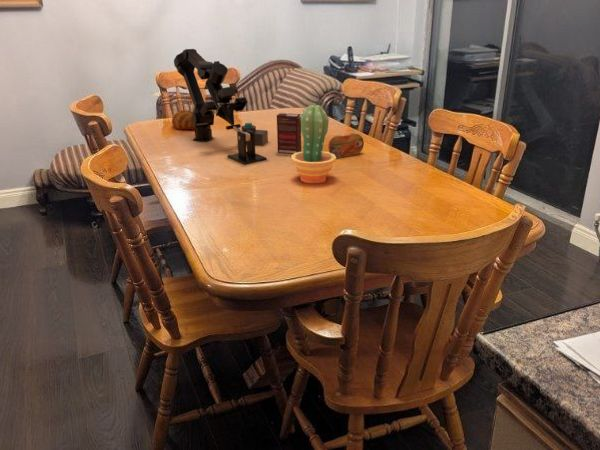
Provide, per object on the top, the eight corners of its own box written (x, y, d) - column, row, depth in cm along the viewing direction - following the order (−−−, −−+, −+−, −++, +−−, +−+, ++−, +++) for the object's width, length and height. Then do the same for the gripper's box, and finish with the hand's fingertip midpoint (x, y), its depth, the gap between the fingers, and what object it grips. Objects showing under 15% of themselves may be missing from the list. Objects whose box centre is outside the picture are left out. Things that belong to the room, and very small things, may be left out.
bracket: (227, 158, 204) (226, 130, 199) (249, 153, 210) (248, 126, 205) (244, 165, 195) (243, 137, 191) (266, 160, 201) (265, 132, 197)
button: (243, 128, 221) (243, 123, 220) (246, 126, 224) (246, 122, 223) (250, 128, 220) (250, 124, 219) (253, 126, 223) (253, 122, 222)
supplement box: (301, 153, 209) (301, 113, 203) (297, 157, 205) (297, 116, 199) (281, 151, 212) (280, 112, 206) (277, 155, 208) (276, 114, 201)
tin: (331, 159, 202) (331, 137, 199) (326, 157, 205) (327, 135, 201) (363, 154, 209) (364, 133, 205) (359, 152, 211) (360, 131, 208)
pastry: (206, 129, 246) (205, 112, 243) (180, 132, 240) (178, 115, 236) (190, 120, 262) (188, 104, 259) (164, 124, 256) (163, 107, 252)
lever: (225, 130, 203) (226, 124, 202) (238, 128, 207) (239, 122, 206) (241, 142, 197) (241, 136, 196) (254, 139, 200) (254, 133, 199)
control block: (239, 144, 221) (238, 128, 219) (245, 140, 228) (244, 124, 225) (262, 146, 219) (261, 130, 216) (268, 142, 225) (267, 126, 222)
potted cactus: (337, 173, 187) (339, 102, 177) (333, 187, 173) (335, 111, 163) (295, 170, 189) (294, 100, 179) (287, 185, 175) (286, 110, 165)
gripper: (201, 80, 195) (218, 115, 192) (244, 76, 206) (261, 108, 203) (193, 99, 204) (209, 132, 201) (234, 93, 215) (250, 125, 212)
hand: (233, 124), depth 204 cm, fingers closed, pressing on lever
